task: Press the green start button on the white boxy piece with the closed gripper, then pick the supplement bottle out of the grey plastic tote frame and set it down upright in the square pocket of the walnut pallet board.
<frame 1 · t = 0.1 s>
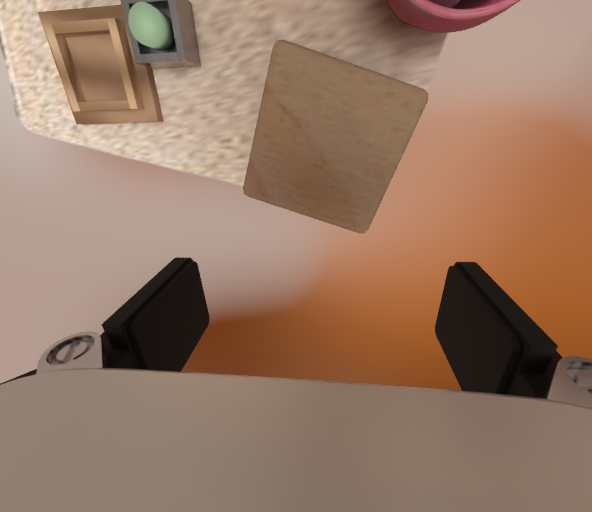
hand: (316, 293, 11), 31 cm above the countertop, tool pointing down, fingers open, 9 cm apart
wooden block: (328, 132, 37), on the countertop
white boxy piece: (172, 37, 34), on the countertop
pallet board: (108, 71, 36), on the countertop
start button: (151, 27, 30), point 4 cm above the countertop, slide at 0.0 cm
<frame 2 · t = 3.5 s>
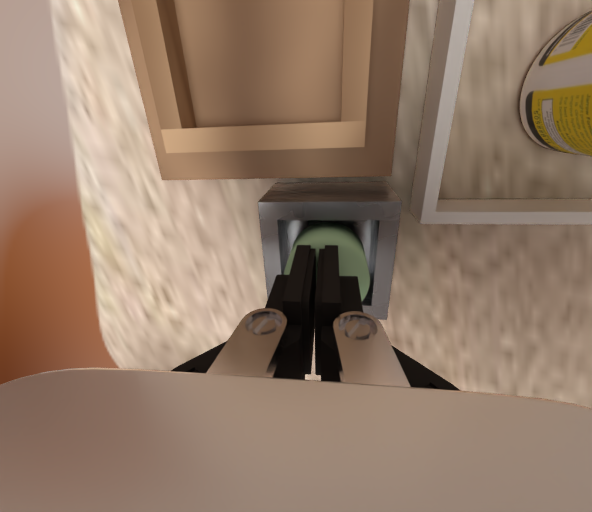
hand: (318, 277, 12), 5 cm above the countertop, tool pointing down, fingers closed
tote frame: (586, 84, 12), on the countertop
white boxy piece: (328, 233, 17), on the countertop
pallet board: (265, 39, 13), on the countertop
start button: (326, 267, 13), point 4 cm above the countertop, slide at 0.0 cm, touching gripper
supplement bottle: (582, 85, 12), resting in tote frame
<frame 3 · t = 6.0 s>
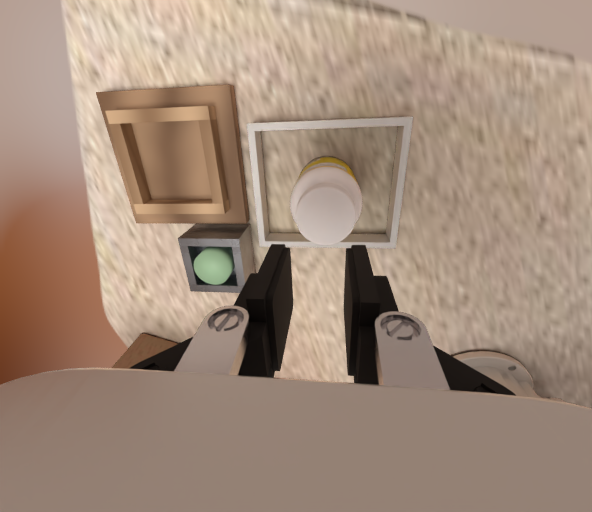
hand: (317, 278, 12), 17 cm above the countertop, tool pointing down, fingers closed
wooden block: (174, 364, 41), on the countertop
tote frame: (326, 184, 27), on the countertop
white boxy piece: (226, 249, 31), on the countertop
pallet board: (182, 160, 27), on the countertop
start button: (216, 263, 28), point 3 cm above the countertop, slide at 1.0 cm
supplement bottle: (326, 184, 27), resting in tote frame
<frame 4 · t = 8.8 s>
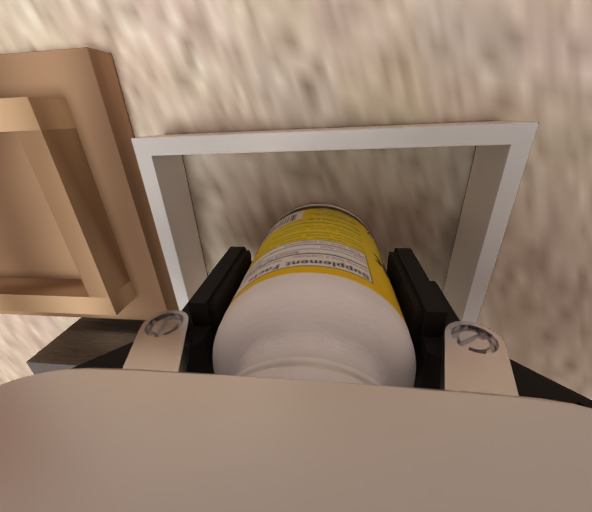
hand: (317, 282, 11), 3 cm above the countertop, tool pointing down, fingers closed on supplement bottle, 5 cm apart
tote frame: (320, 254, 14), on the countertop
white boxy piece: (149, 350, 18), on the countertop
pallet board: (42, 206, 14), on the countertop
supplement bottle: (320, 252, 14), resting in tote frame, touching gripper
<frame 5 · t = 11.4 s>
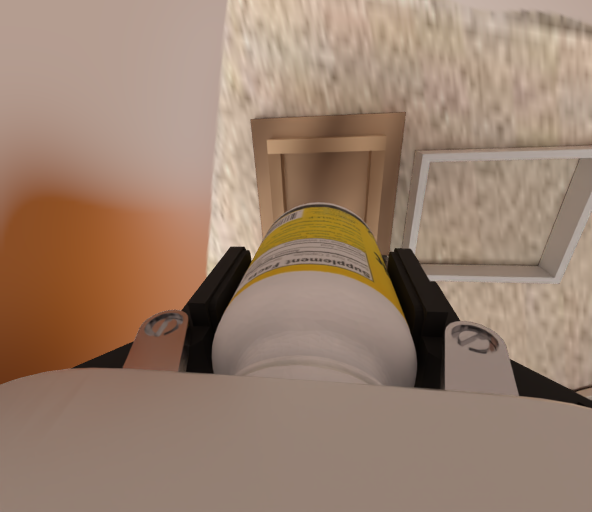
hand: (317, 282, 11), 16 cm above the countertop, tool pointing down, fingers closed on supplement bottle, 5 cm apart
tote frame: (483, 215, 25), on the countertop
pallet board: (325, 189, 25), on the countertop
supplement bottle: (320, 251, 14), point 13 cm above the countertop, touching gripper
when the fingers open (4 cm above the countertop, at t = 14.1 s): supplement bottle stays where it is, resting on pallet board.
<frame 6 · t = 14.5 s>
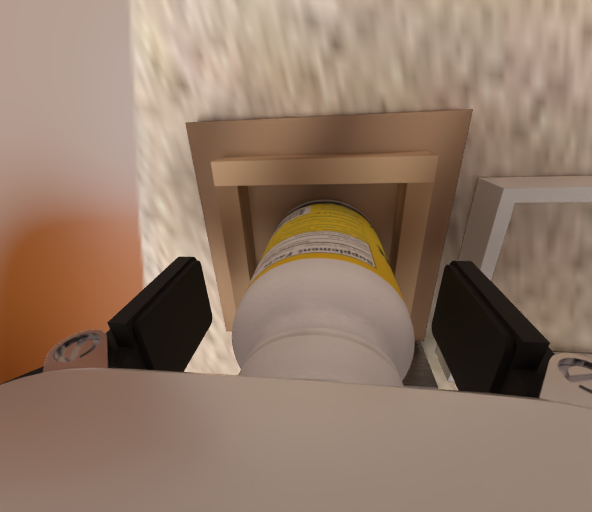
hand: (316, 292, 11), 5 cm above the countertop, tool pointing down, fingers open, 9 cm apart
tote frame: (584, 282, 15), on the countertop
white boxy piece: (365, 364, 19), on the countertop
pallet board: (321, 237, 15), on the countertop
supplement bottle: (325, 246, 15), point 1 cm above the countertop, touching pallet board
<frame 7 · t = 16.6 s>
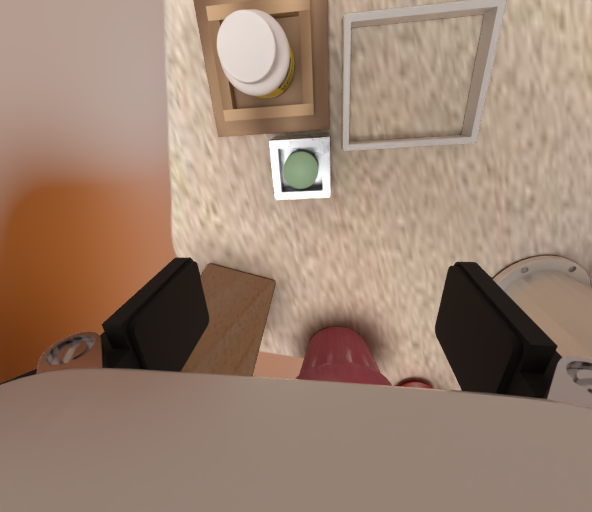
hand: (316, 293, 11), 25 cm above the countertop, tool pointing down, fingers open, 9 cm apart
wooden block: (237, 297, 42), on the countertop
tote frame: (408, 84, 28), on the countertop
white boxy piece: (302, 163, 32), on the countertop
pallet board: (267, 67, 28), on the countertop
start button: (301, 168, 29), point 3 cm above the countertop, slide at 1.0 cm
supplement bottle: (268, 67, 27), point 1 cm above the countertop, touching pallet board
plant pot: (337, 346, 46), on the countertop
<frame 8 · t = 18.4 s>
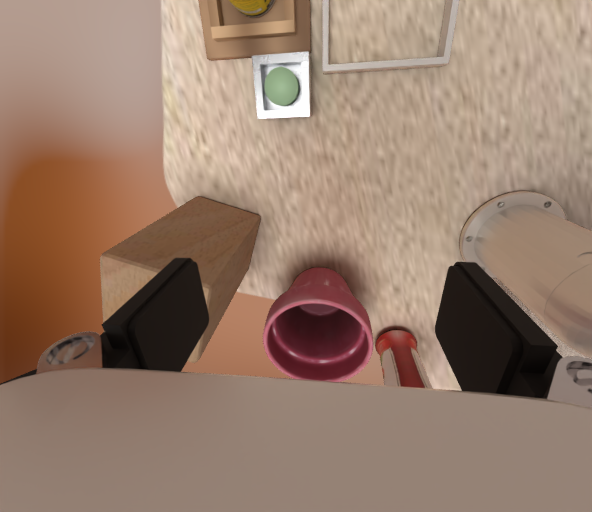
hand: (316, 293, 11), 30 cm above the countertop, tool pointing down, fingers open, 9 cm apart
wooden block: (224, 233, 44), on the countertop
tote frame: (385, 7, 30), on the countertop
liquor: (394, 339, 50), on the countertop
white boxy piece: (286, 89, 34), on the countertop
start button: (282, 87, 31), point 3 cm above the countertop, slide at 1.0 cm
plant pot: (320, 289, 47), on the countertop
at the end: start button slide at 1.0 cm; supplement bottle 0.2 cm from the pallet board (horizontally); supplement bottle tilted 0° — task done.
